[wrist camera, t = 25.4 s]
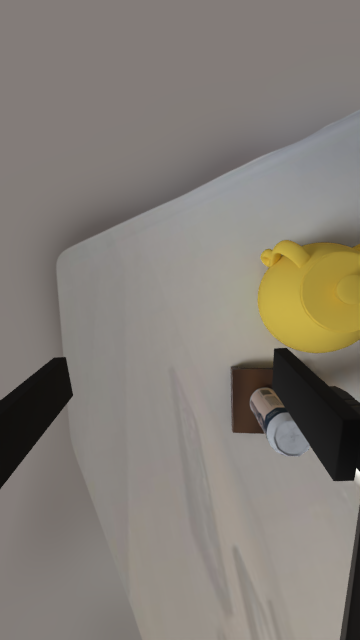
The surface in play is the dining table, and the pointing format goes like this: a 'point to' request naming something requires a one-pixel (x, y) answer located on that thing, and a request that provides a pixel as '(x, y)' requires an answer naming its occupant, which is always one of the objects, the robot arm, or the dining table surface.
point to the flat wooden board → (247, 396)
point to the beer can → (277, 423)
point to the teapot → (311, 295)
